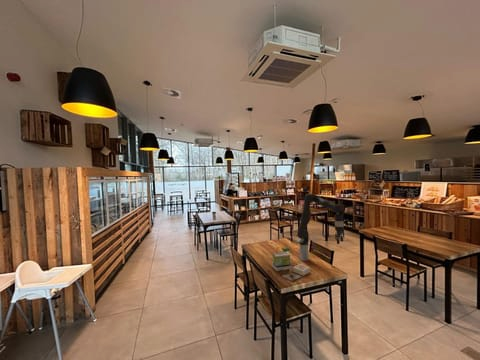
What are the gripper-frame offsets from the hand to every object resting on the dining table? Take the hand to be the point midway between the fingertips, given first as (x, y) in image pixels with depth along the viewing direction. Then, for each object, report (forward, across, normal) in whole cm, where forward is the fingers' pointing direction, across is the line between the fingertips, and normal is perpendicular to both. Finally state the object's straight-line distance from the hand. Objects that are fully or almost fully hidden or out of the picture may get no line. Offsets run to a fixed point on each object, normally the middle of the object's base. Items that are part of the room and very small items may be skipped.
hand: (340, 242), depth 188 cm
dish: (+29, +22, -28) cm, 46 cm away
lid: (+28, +37, -30) cm, 55 cm away
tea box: (+29, +27, -48) cm, 62 cm away
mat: (+29, +37, -30) cm, 56 cm away
